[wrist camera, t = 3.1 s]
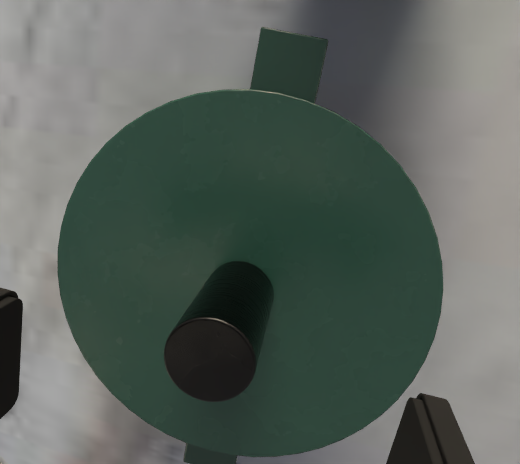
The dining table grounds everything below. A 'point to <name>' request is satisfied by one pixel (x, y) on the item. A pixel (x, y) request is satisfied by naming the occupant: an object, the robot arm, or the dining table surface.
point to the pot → (289, 83)
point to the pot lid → (250, 273)
